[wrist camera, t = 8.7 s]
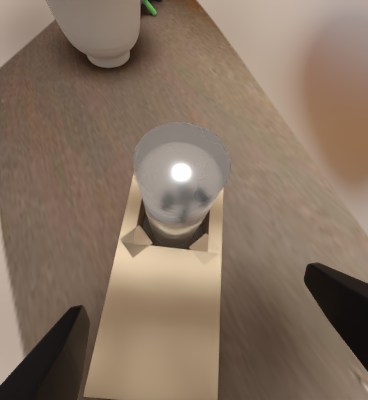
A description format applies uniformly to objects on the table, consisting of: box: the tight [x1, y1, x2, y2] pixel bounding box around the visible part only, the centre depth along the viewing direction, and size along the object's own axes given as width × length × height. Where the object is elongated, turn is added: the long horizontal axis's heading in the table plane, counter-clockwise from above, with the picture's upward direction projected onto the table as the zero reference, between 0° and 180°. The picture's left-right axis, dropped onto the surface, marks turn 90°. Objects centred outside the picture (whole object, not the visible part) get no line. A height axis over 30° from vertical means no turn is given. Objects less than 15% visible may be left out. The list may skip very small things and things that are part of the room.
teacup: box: [46, 0, 140, 68], centre depth 23 cm, size 12×15×10 cm
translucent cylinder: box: [133, 122, 231, 247], centre depth 14 cm, size 4×4×11 cm
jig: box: [83, 171, 223, 400], centre depth 16 cm, size 16×8×3 cm, turn 174°
